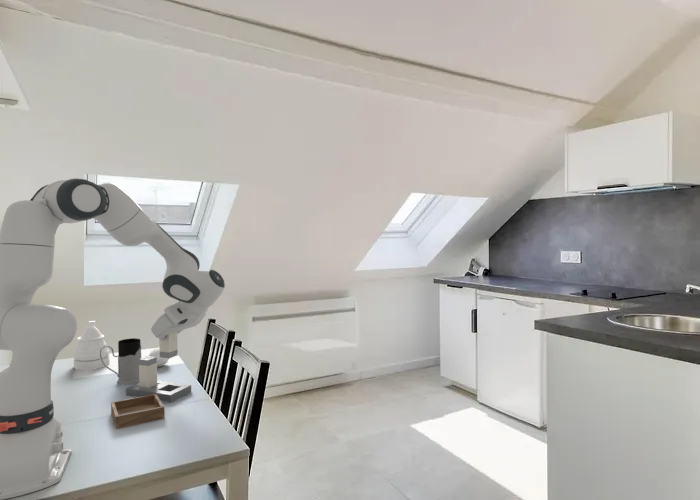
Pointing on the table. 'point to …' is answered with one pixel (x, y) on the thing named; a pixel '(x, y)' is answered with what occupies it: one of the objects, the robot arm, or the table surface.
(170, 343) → the block
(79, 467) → the table surface
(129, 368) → the grey mug
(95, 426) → the table surface
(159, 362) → the ball
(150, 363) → the block
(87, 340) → the honey pot
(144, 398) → the tray
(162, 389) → the fuse block
